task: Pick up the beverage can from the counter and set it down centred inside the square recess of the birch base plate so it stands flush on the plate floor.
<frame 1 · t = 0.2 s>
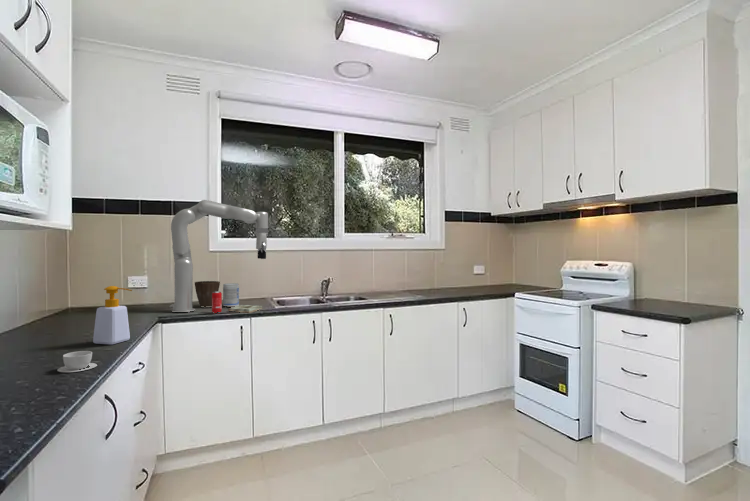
hand: (261, 258, 258), 31 cm above the countertop, tool pointing down, fingers open, 9 cm apart
soap bottle: (116, 343, 161), on the countertop
beverage can: (216, 313, 236), on the countertop
teacup: (77, 369, 127), on the countertop
base plate: (245, 310, 245), on the countertop
plant pot: (207, 307, 259), on the countertop
supplement tub: (230, 307, 261), on the countertop
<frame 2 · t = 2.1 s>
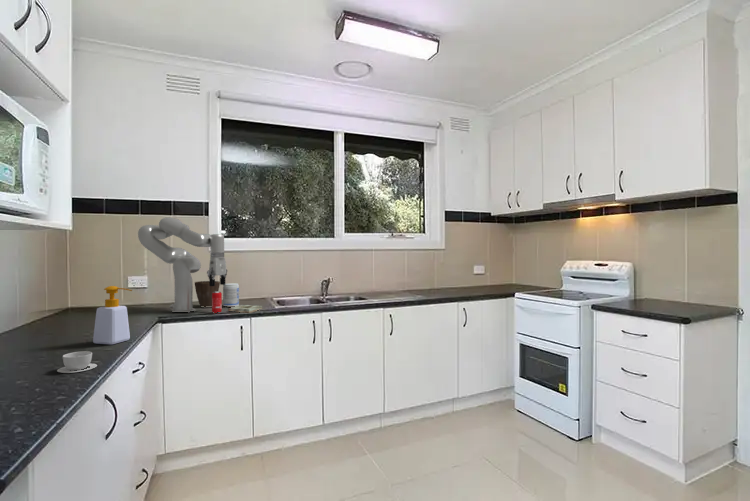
hand: (217, 285, 236), 16 cm above the countertop, tool pointing down, fingers open, 9 cm apart
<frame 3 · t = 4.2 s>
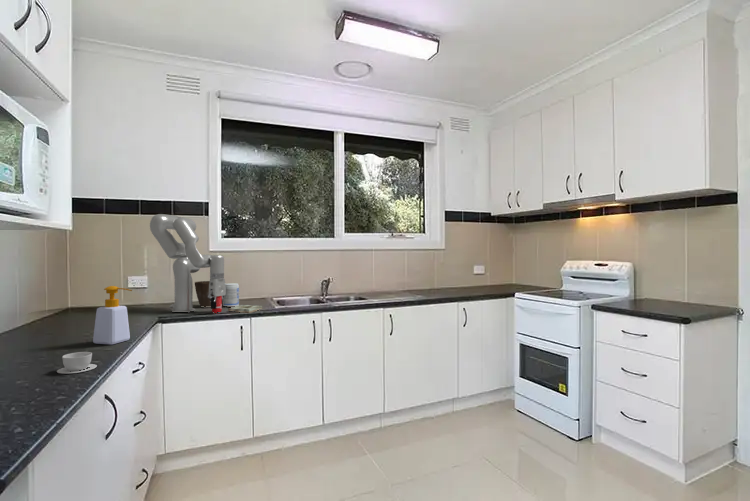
hand: (216, 307, 236), 3 cm above the countertop, tool pointing down, fingers closed on beverage can, 5 cm apart
beverage can: (216, 313, 236), on the countertop, touching gripper
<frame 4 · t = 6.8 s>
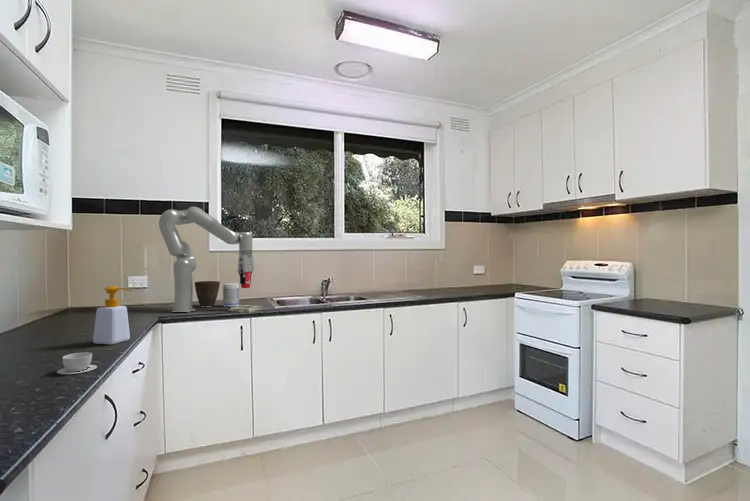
hand: (245, 282, 245), 17 cm above the countertop, tool pointing down, fingers closed on beverage can, 5 cm apart
beverage can: (245, 288, 245), point 13 cm above the countertop, touching gripper
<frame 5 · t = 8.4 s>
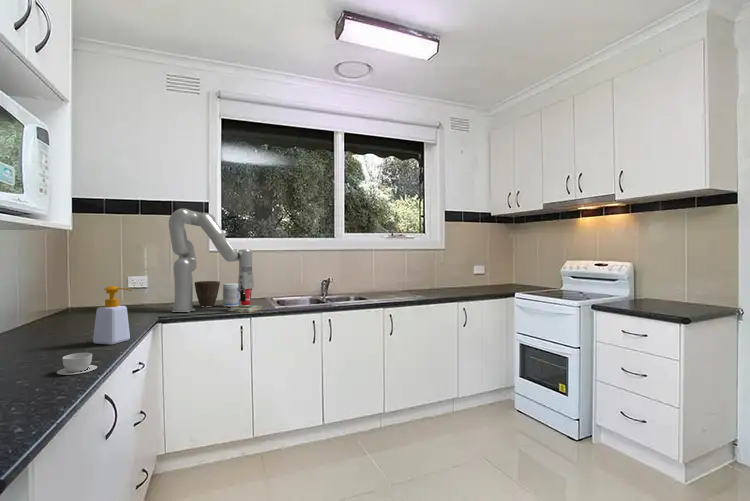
hand: (245, 299, 245), 6 cm above the countertop, tool pointing down, fingers closed on beverage can, 5 cm apart
beverage can: (245, 305, 245), point 3 cm above the countertop, touching gripper
when the fingers open (4 cm above the countertop, at t = 9.7 s): beverage can stays where it is, resting on base plate.
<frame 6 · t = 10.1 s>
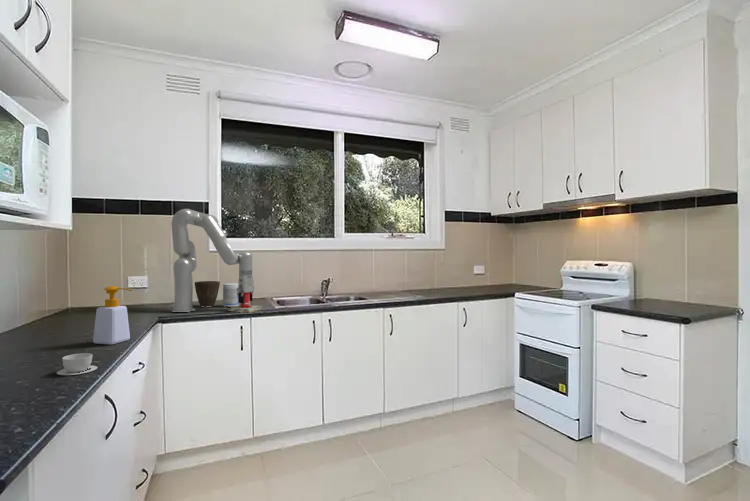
hand: (245, 301, 245), 5 cm above the countertop, tool pointing down, fingers open, 9 cm apart
beverage can: (245, 309, 245), point 1 cm above the countertop, touching base plate
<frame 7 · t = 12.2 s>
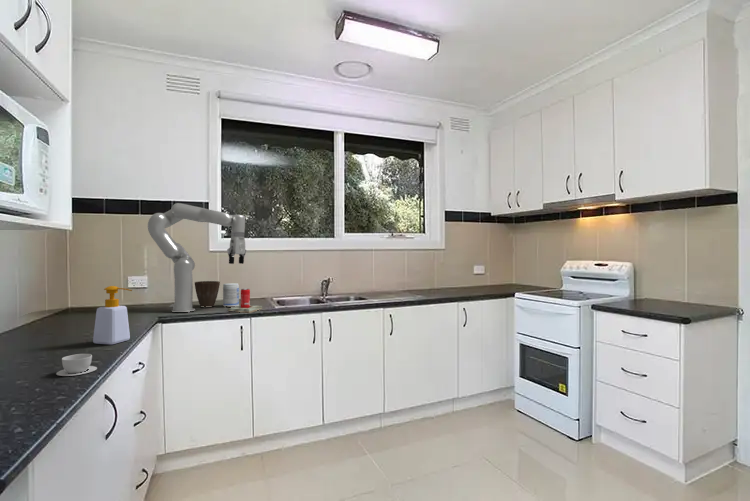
hand: (236, 263, 247), 28 cm above the countertop, tool pointing down, fingers open, 9 cm apart
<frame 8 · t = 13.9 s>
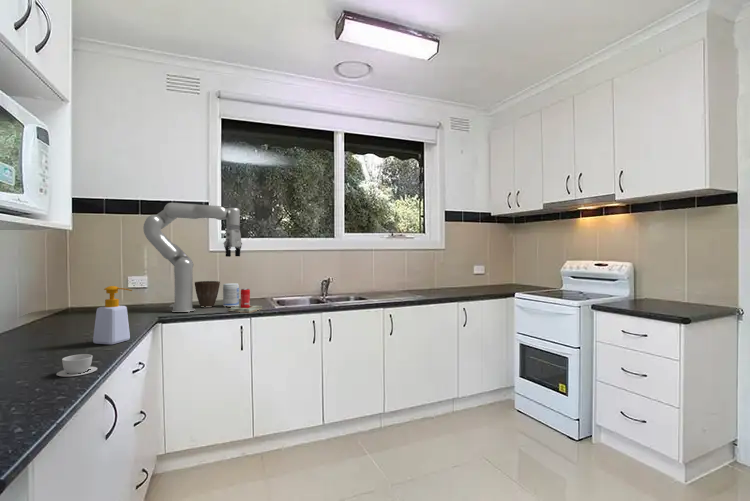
hand: (233, 256, 249), 32 cm above the countertop, tool pointing down, fingers open, 9 cm apart
at the end: beverage can 0.1 cm off-centre on the base plate, point 0.8 cm above the base plate's base; beverage can tilted 0°; the gripper is holding nothing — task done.
